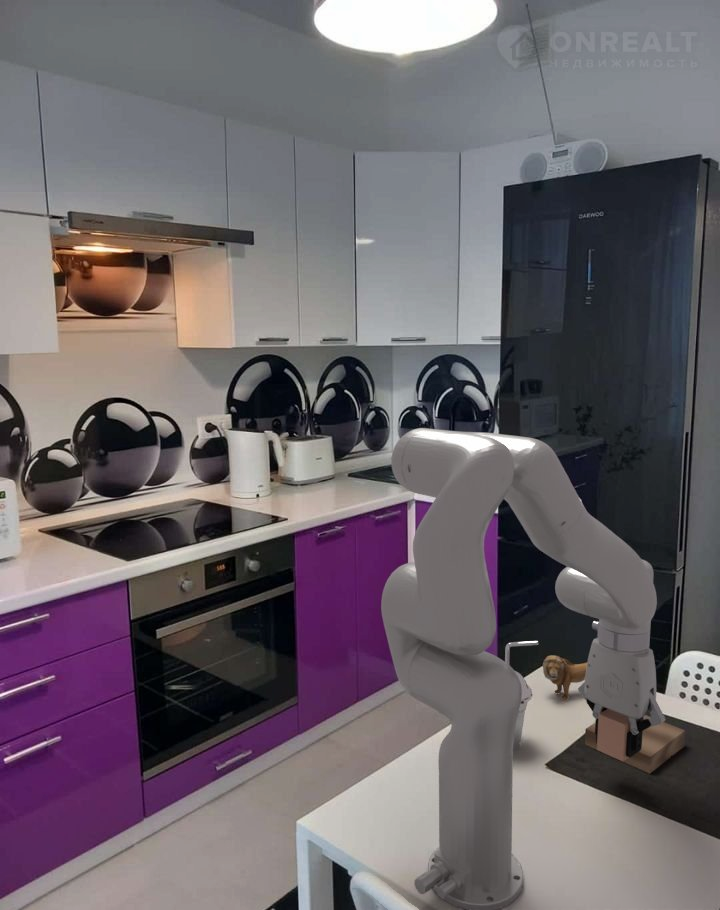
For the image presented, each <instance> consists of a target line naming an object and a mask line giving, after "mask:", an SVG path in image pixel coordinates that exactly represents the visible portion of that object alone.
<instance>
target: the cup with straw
mask: <svg viewBox="0 0 720 910" xmlns="http://www.w3.org/2000/svg"><path fill="white" fill-rule="evenodd" d="M539 645H540V643H539V640H529V641H528V640H527V641H513V642H508V643H507V644H506V646H505V649H504V650H505V652H504V653H505V655H504V656H505V657H504V662H506V663H507V664H508V665H509V666H510V648H511V647H523V646H524V647H527V646H528V647H529V646H539ZM514 671H515V672H516V674H517V676H518V677H519V680H520V682H521V687H522V697H521V703H520V708H519V712H518V717H517V721H516V726H515V733H514V741H513V752H516V751H519V750H520V748H521V744H520V743H521V742H522V734H523V730H524V729H523V727H524V720H525V719H524V718H525V714H526V713H525V712H526V711H527V706H528V703H529V702H530V701H531V700H532V699H533V691H532V687H530V685H529V684H528V683H527V682H526V680H525V678H524V676H522V674H521V673H520V672H518V671H516V670H514Z"/></svg>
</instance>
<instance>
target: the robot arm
mask: <svg viewBox="0 0 720 910" xmlns="http://www.w3.org/2000/svg"><path fill="white" fill-rule="evenodd" d="M390 459H391V460H390V461H391V462H390V465H391V469H392V470H391V471H392V473H393V475H394V478H395V479H396V481H397V483H398V484H399V485H401V487H403V488H404V489H406V490H407V491H409V492H410V493H411V492H412V493H414V494H418V495H422V496H426V497H429V498H430V497H431V498H435V499H434V500H433V502H432V503H431V505H430V507H429V508H428V510H427V512H426V513H425V514H424V516H423V517H422V520H421V521H420V522H419V525H418V526H417V528H416V531H415V533H414V535H413V540H412V553H413V562H412V561H411V562H407V563H405V564H402V565H400V566H398V567H397V568H396V569H395V570H394V571H393V572H391V574H390V576H389V577H388V578H387V580H386V582H385V585H384V587H383V589H382V594H381V601H380V602H381V603H380V605H381V606H380V610H381V617H382V623H383V627H384V630H385V634H386V638H387V643H388V647H389V651H390V655H391V659H392V663H393V666H394V670H395V674H396V676H397V679H398V682H399V684H400V685H401V687H402V688H403V690H404V691H405V692H406V693H407V694H408V695H409V696H410V697H412V698H414V699H415V700H417V701H418V702H421V703H422V704H424V705H426V706H428V707H430V708H431V709H433V710H435V711H436V712H438V713H439V714H441V715H443V716H444V717H446V719H448V721H450V725H451V727H450V729H449V731H448V732H447V734H446V735H445V737H444V738H443V740H442V741H441V743H440V746H439V749H438V827H439V828H438V833H439V835H438V837H439V839H438V841H439V843H438V844H439V846H438V847H437V848H436V849H435V850H433V852H432V854H431V856H430V857H429V859H428V862H427V871H426V872H424V873H423V874H421V875H419V876H418V877H416V878H415V880H414V887H415V889H416V891H417V892H418V893H419V894H420V895H425V894H426V893H428V892H429V891H430V890H431V889H433V891H434V892H435V893H436V894H437V895H438V897H439V898H440V899H443V900H444V901H446V902H447V903H449V904H451V905H453V906H455V907H457V908H460V909H464V910H498V909H501V908H504V907H506V906H507V905H510V904H511V903H513V902H514V901H515V900H516V899H517V898H518V896H519V895H520V894H521V892H522V890H523V886H524V871H523V867H522V864H521V862H520V861H519V860H518V858H517V857H516V856H515V855H514V853H512V849H513V848H512V847H513V846H512V845H513V843H512V842H513V760H514V759H513V757H514V756H513V755H514V751H513V741H514V733H515V726H516V721H517V717H518V712H519V708H520V703H521V697H522V687H521V682H520V680H519V677H518V676H517V674H516V672H517V671H516V670H514V669H513V667H512V666H511V665H510V664H509V665H508V664H507V663H506V662H505V660H503V659H501V658H500V657H498V656H497V655H494V654H492V653H490V652H487V651H486V650H487V649H488V648H489V647H490V646H491V645H492V643H493V641H494V639H495V636H496V630H497V621H496V620H497V617H496V611H495V610H496V609H495V605H494V604H495V603H494V599H493V595H492V588H491V584H490V578H489V574H488V569H487V562H486V557H485V549H484V548H485V537H486V532H487V530H488V528H489V525H490V523H491V521H492V519H493V517H494V515H495V513H496V512H497V510H498V507H499V506H500V505H501V503H502V502H503V501H506V503H508V506H509V507H510V508H511V511H513V513H514V515H515V516H516V518H517V520H518V521H519V523H520V525H521V526H522V527H523V530H524V531H525V533H526V534H527V536H528V538H529V539H530V541H531V542H532V544H533V545H534V547H536V548H537V549H538V550H539V551H541V552H543V554H545V555H547V556H548V557H550V558H551V559H553V560H555V561H556V562H558V563H560V564H562V565H564V566H566V567H565V568H563V569H562V570H561V571H560V573H559V574H558V576H557V579H556V580H555V586H554V589H555V594H556V597H557V599H558V601H559V603H560V604H561V605H562V606H564V607H565V608H568V609H569V610H570V611H574V612H576V613H578V614H582V615H585V616H588V617H591V618H595V619H598V621H597V620H593V622H592V624H591V628H592V630H595V631H596V632H597V635H596V638H594V639H593V640H592V642H591V646H590V650H589V653H588V658H587V662H586V663H587V667H586V675H585V680H584V681H583V683H582V684H581V685H580V686H579V687H578V689H577V691H578V693H579V694H580V695H581V697H583V699H584V700H585V701H586V703H587V705H588V707H589V708H590V710H591V711H592V712H591V713H592V718H594V719H595V722H594V723H595V734H596V743H597V737H598V718H599V714H600V713H602V712H603V711H605V710H607V709H610V710H612V711H615V712H617V713H620V714H622V715H625V716H628V719H629V725H630V731H629V732H628V733H627V742H626V756H627V757H629V758H630V757H632V756H633V755H635V754H636V753H638V752H639V751H640V750H641V748H642V733H643V730H645V729H647V728H649V727H652V726H655V725H659V724H661V723H663V722H665V721H666V717H665V715H664V713H663V711H662V709H661V707H660V706H659V704H658V701H657V671H656V664H655V663H656V662H655V655H654V651H653V649H651V648H650V639H651V623H652V622H651V621H652V619H653V618H654V616H655V614H656V610H657V605H658V603H657V602H658V599H657V591H656V587H655V584H654V569H653V568H654V567H653V566H652V565H651V563H650V562H648V561H647V560H645V559H642V558H641V557H640V555H639V554H638V553H637V552H636V551H635V550H634V549H633V548H632V547H631V546H630V545H629V544H628V543H626V542H625V541H624V540H623V539H622V538H620V537H619V536H618V535H616V533H614V532H613V531H612V530H611V529H609V528H608V527H607V526H606V525H604V524H603V522H600V521H599V520H598V519H596V518H595V517H594V516H592V515H591V514H590V512H588V511H587V509H586V507H585V506H584V504H583V502H582V499H581V498H580V497H579V495H578V492H577V491H576V489H575V487H574V485H573V484H572V482H571V480H570V478H569V475H568V474H567V472H566V471H565V468H564V467H563V464H562V463H561V461H560V459H559V458H558V456H557V454H556V452H555V451H554V449H552V447H551V446H549V445H548V444H547V443H545V442H544V441H542V440H539V439H537V438H534V437H527V436H519V435H510V434H503V433H502V434H501V433H494V432H480V431H479V432H478V431H477V432H476V431H474V432H473V431H457V430H447V429H436V428H427V427H419V428H415V429H414V428H413V429H411V430H410V431H407V432H406V433H404V434H403V435H402V436H401V437H400V438H398V440H397V441H396V443H395V445H394V447H393V450H392V453H391V458H390ZM515 671H516V672H515ZM647 711H648V712H649V714H650V716H649V717H648V718H646V719H645V715H647Z"/></svg>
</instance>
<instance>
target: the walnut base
mask: <svg viewBox="0 0 720 910" xmlns="http://www.w3.org/2000/svg"><path fill="white" fill-rule="evenodd" d="M648 717H650V716H649V715H647V714H645V719H646V718H648ZM584 729H585V732H584V734H585V737H584V745H585V746H587V747H589V748H592V749H593V750H596V751H598V752H601V751H599V750H597V743H596V734H595V722H594V723H592V724H591V725H589V726H588V727H586V728H584ZM685 738H686V730H685V729H682V728H680V727H678V726H675V725H672V724H671V723H667V722H665V721H664V722H663V723H661V724H659V725H655V726H652V727H649V728H647V729H645V730H643V733H642V748H641V750H640V751H639V752H638V753H636V754H635V755H633V756H632V757H630V758H627V759H626V760H624V761H621V760H619V761H620V762H622V763H625V764H628V765H629V766H631V767H634V768H637V769H639V770H640V771H643V772H645V773H647V774H650V775H651V773H653V772H654V771H655V770H657V769H658V768H659V767H660V766H662V765H664V763H666V761H668V760H669V759H671V758H672V757H673V756H674V755H675V754H677V753H678V752H679V751H680V750H682V749H683V748H684V747H685V742H686V741H685V740H686V739H685ZM601 753H603V752H601ZM603 754H604V753H603ZM608 756H609V757H611V758H613V757H612V756H610V755H608ZM671 756H672V757H671Z"/></svg>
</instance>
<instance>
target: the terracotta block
mask: <svg viewBox="0 0 720 910" xmlns="http://www.w3.org/2000/svg"><path fill="white" fill-rule="evenodd" d="M629 731H630V725H629V719H628V716H625V715H622V714H620V713H617V712H615V711H612V710H610V709H607V710H605V711H603V712H602V713H600V714H599V718H598V737H597V750H596V751H598V750H599V751H598V752H600V751H601V753H602V752H603V754H605V755H606V756H609V755H610V756H609V757H611V756H612V757H611V758H614V759H616V760H619V761H620V760H621V761H620V762H622V761H624V760H626V759H627V758H629V757H627V756H626V742H627V733H628V732H629Z"/></svg>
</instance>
